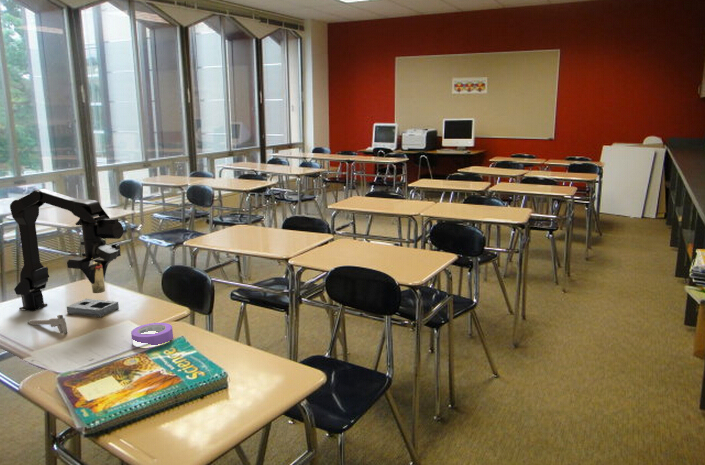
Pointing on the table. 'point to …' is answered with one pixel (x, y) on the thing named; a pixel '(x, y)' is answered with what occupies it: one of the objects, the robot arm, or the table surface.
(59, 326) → the caliper
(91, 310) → the grey flat block
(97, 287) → the tan cylindrical container
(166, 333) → the masking tape
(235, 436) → the table surface
